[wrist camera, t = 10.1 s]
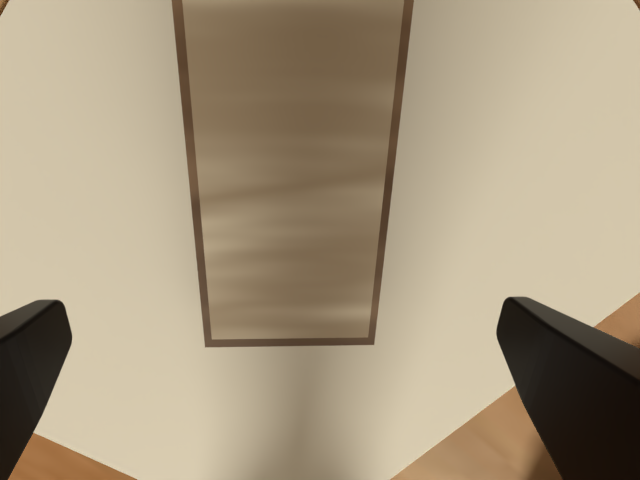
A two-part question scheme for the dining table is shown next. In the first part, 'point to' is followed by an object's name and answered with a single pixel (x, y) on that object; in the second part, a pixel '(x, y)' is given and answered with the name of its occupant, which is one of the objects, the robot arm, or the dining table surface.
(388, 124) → the wood grain block
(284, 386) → the mat
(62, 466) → the dining table surface
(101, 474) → the dining table surface
